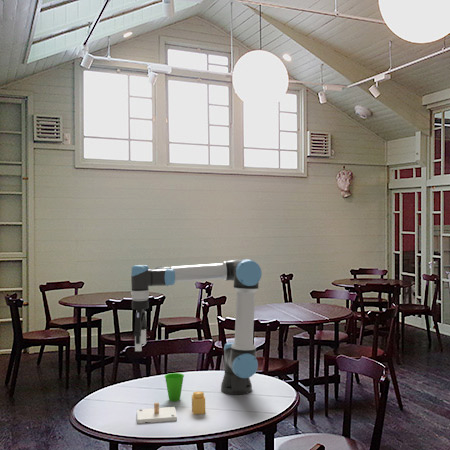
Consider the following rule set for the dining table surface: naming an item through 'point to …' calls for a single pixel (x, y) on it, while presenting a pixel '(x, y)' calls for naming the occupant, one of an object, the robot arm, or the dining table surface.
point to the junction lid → (156, 414)
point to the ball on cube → (198, 403)
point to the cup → (174, 385)
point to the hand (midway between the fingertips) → (140, 347)
